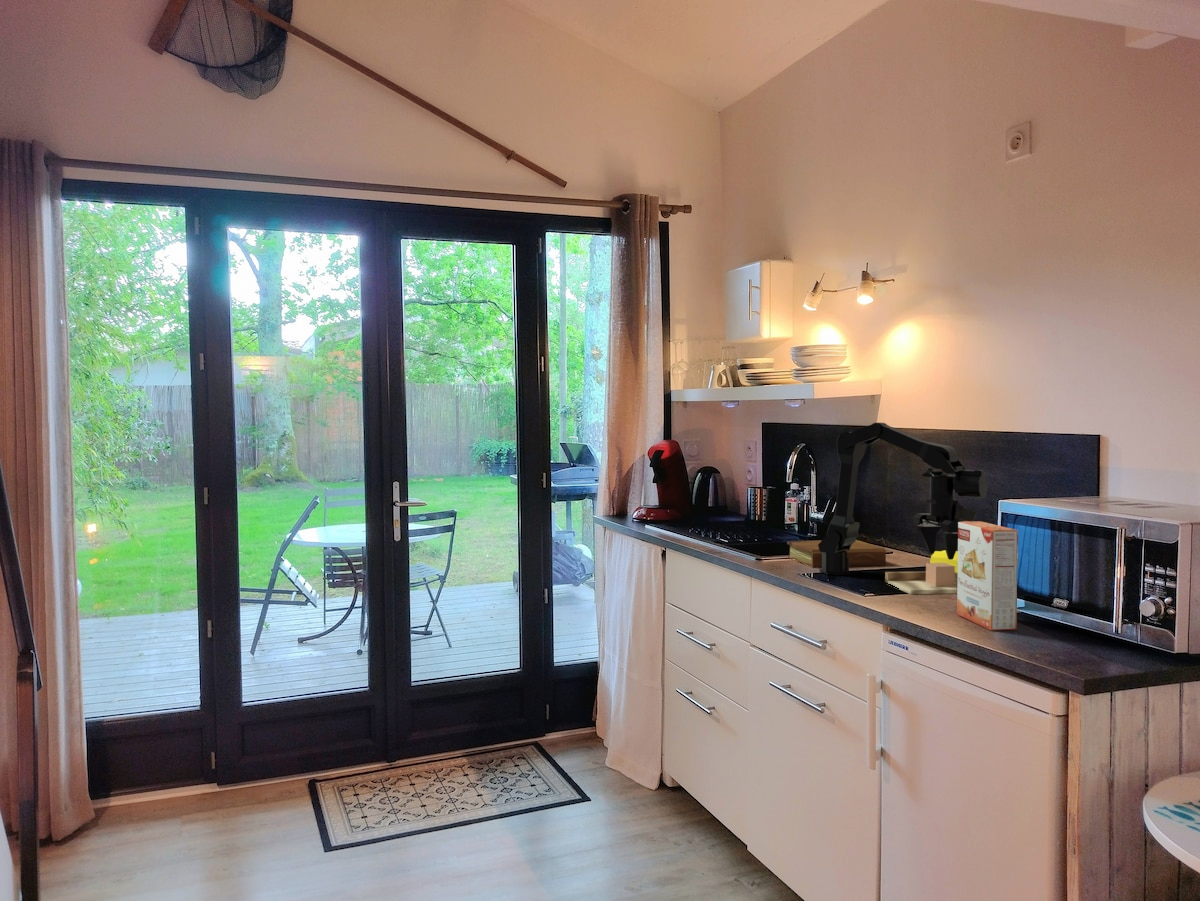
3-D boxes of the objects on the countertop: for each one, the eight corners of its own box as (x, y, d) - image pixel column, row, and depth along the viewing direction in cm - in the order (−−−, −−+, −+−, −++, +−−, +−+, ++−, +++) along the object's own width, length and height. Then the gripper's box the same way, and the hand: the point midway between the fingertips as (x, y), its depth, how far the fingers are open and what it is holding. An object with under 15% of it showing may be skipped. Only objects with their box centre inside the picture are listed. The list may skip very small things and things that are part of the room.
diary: (812, 570, 246) (812, 550, 246) (786, 559, 264) (787, 541, 264) (885, 567, 250) (885, 547, 250) (855, 557, 268) (855, 539, 268)
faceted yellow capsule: (940, 569, 245) (921, 571, 241) (940, 546, 245) (921, 548, 241) (994, 580, 229) (974, 582, 225) (994, 555, 228) (975, 557, 225)
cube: (954, 585, 214) (954, 566, 214) (935, 586, 214) (936, 566, 214) (943, 582, 219) (944, 562, 219) (925, 582, 219) (926, 563, 218)
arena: (910, 594, 209) (911, 582, 209) (885, 583, 223) (885, 572, 223) (979, 592, 211) (979, 580, 211) (949, 582, 225) (949, 570, 225)
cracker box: (954, 615, 187) (956, 520, 186) (981, 615, 187) (983, 520, 186) (989, 631, 173) (991, 529, 172) (1017, 630, 173) (1019, 528, 172)
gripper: (993, 498, 207) (991, 561, 208) (952, 492, 226) (951, 550, 226) (950, 498, 206) (949, 562, 206) (912, 492, 224) (911, 551, 225)
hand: (941, 556), depth 216 cm, fingers open, 9 cm apart
